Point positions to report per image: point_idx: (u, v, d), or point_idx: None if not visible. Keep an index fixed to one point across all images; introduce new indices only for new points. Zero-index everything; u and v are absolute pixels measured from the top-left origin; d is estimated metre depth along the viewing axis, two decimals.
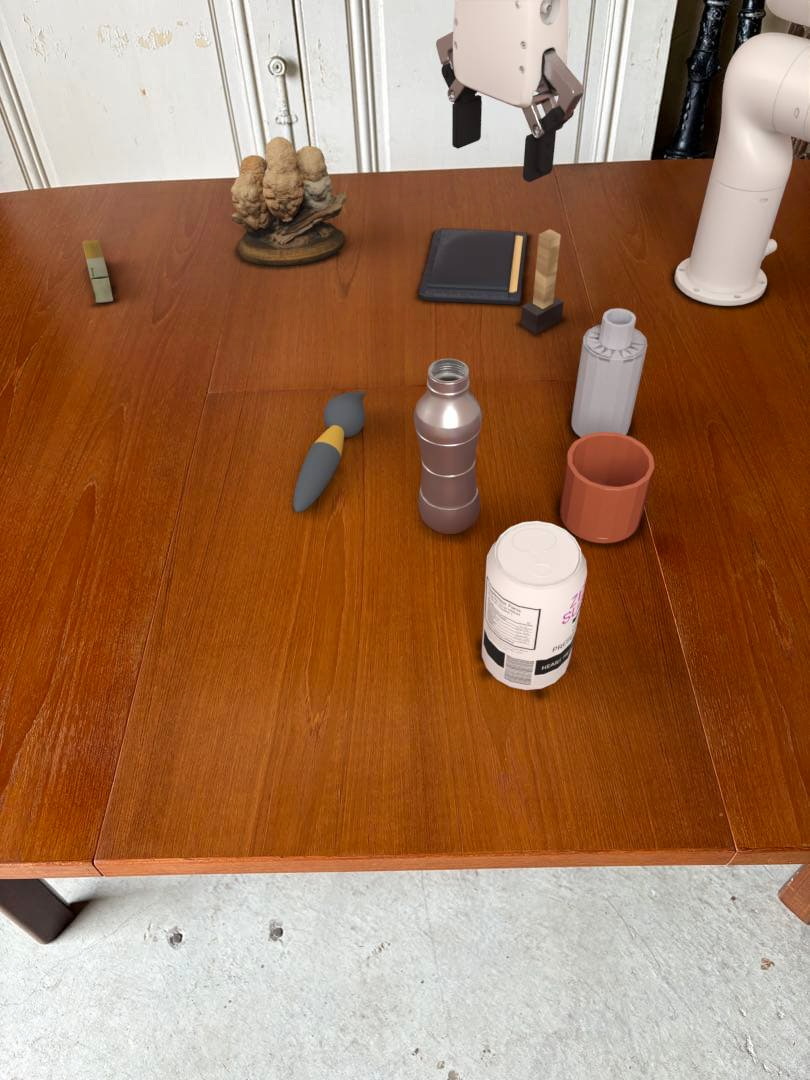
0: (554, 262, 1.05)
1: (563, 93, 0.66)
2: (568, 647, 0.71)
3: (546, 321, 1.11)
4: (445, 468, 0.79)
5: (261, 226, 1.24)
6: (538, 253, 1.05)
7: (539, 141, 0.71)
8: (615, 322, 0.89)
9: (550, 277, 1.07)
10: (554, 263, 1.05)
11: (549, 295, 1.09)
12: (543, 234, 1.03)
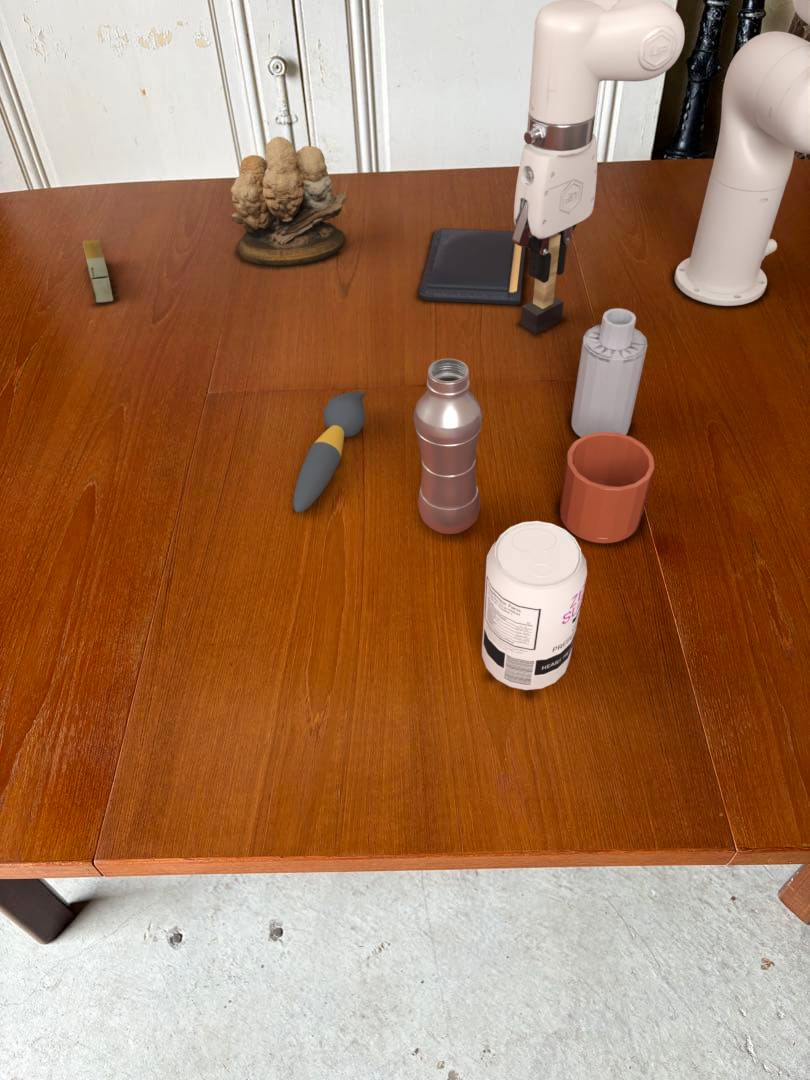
0: (554, 262, 1.05)
1: None
2: (568, 647, 0.71)
3: (546, 321, 1.11)
4: (445, 468, 0.79)
5: (261, 226, 1.24)
6: None
7: None
8: (615, 322, 0.89)
9: (550, 277, 1.07)
10: (554, 263, 1.05)
11: (549, 295, 1.09)
12: None
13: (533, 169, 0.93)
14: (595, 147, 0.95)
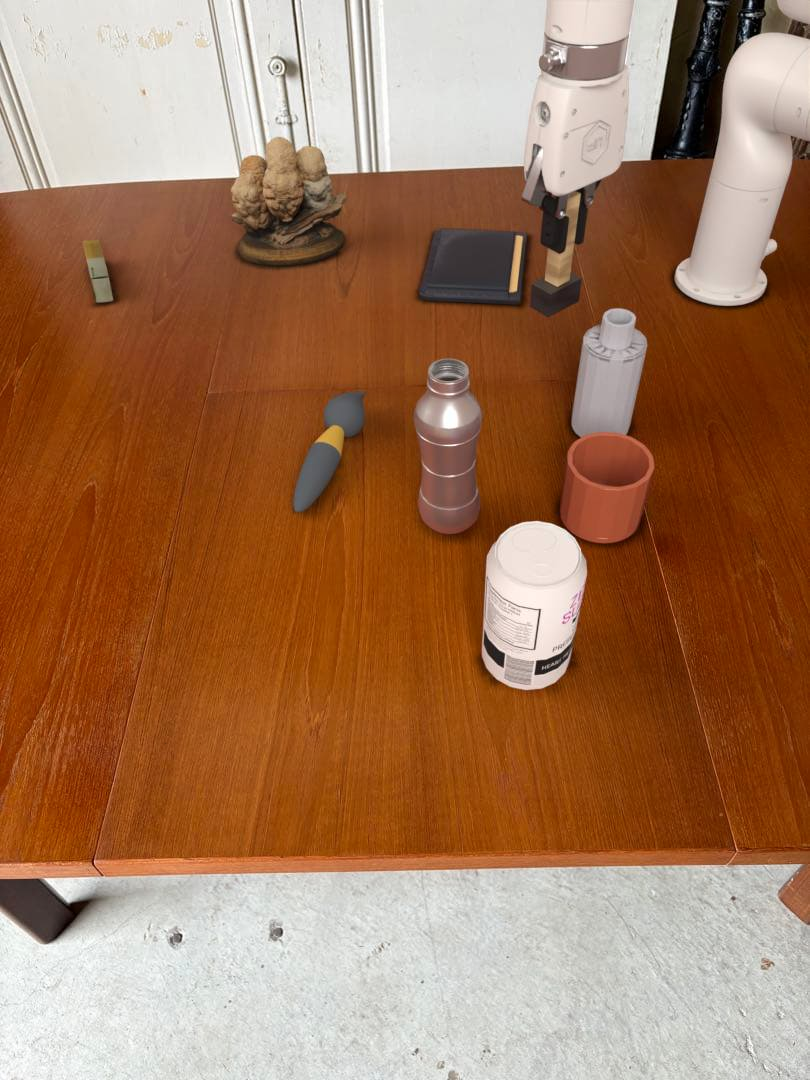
0: (572, 228, 0.86)
1: None
2: (568, 647, 0.71)
3: (561, 302, 0.92)
4: (445, 468, 0.79)
5: (261, 226, 1.24)
6: None
7: None
8: (615, 322, 0.89)
9: (567, 247, 0.87)
10: (572, 229, 0.86)
11: (564, 270, 0.89)
12: None
13: (550, 105, 0.74)
14: (627, 80, 0.76)
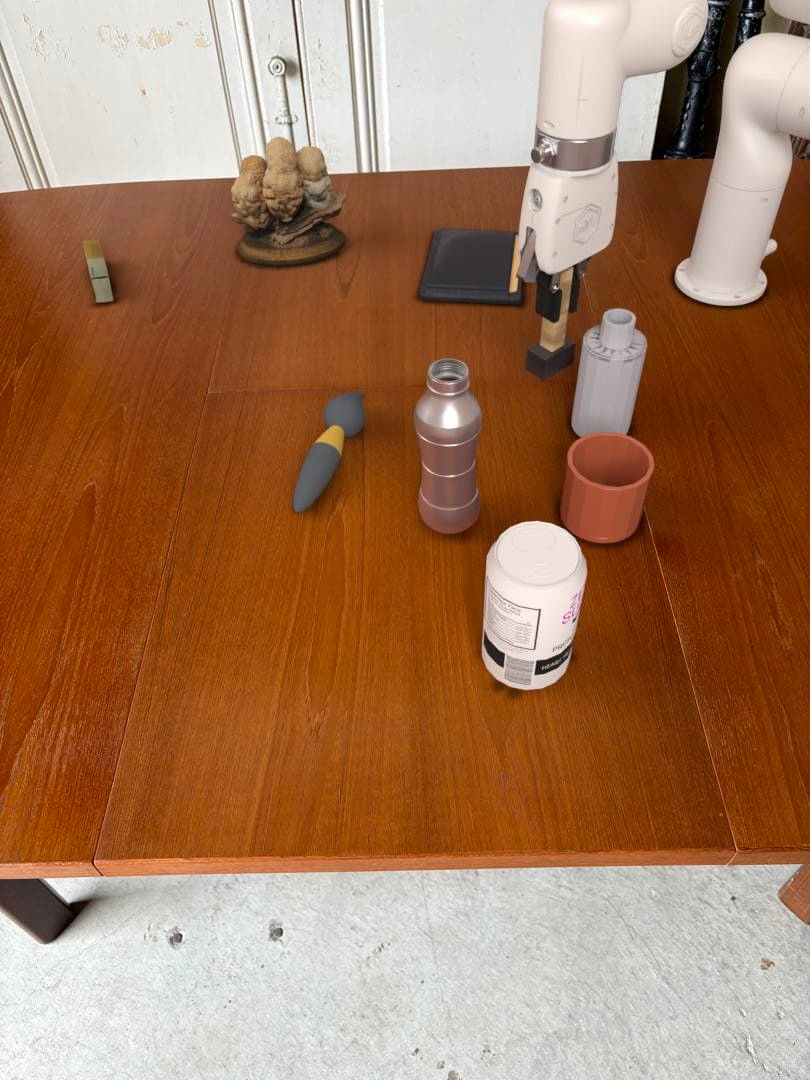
0: (565, 299, 0.89)
1: None
2: (568, 647, 0.71)
3: (556, 366, 0.95)
4: (445, 468, 0.79)
5: (261, 226, 1.24)
6: None
7: None
8: (615, 322, 0.89)
9: (560, 316, 0.90)
10: (565, 300, 0.89)
11: (559, 336, 0.93)
12: None
13: (542, 193, 0.77)
14: (616, 165, 0.79)
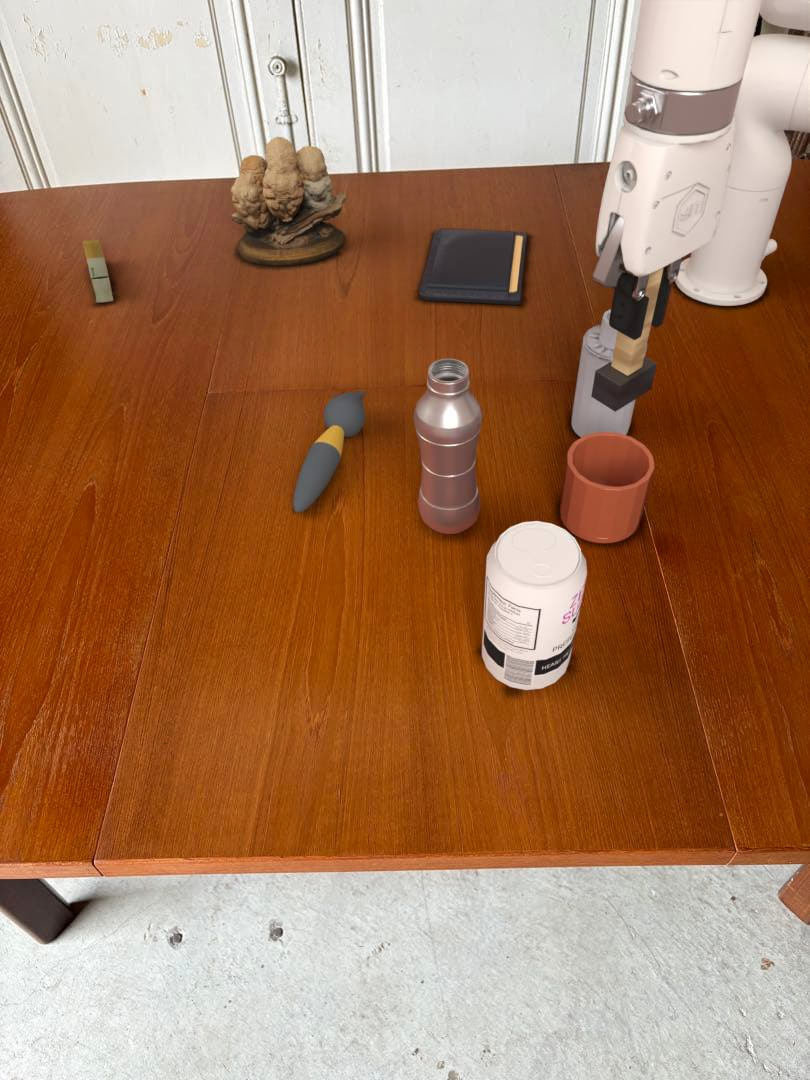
0: (650, 308, 0.69)
1: None
2: (568, 647, 0.71)
3: (631, 393, 0.75)
4: (445, 468, 0.79)
5: (261, 226, 1.24)
6: None
7: None
8: None
9: None
10: (650, 310, 0.69)
11: (637, 356, 0.72)
12: None
13: (637, 166, 0.57)
14: (733, 131, 0.59)
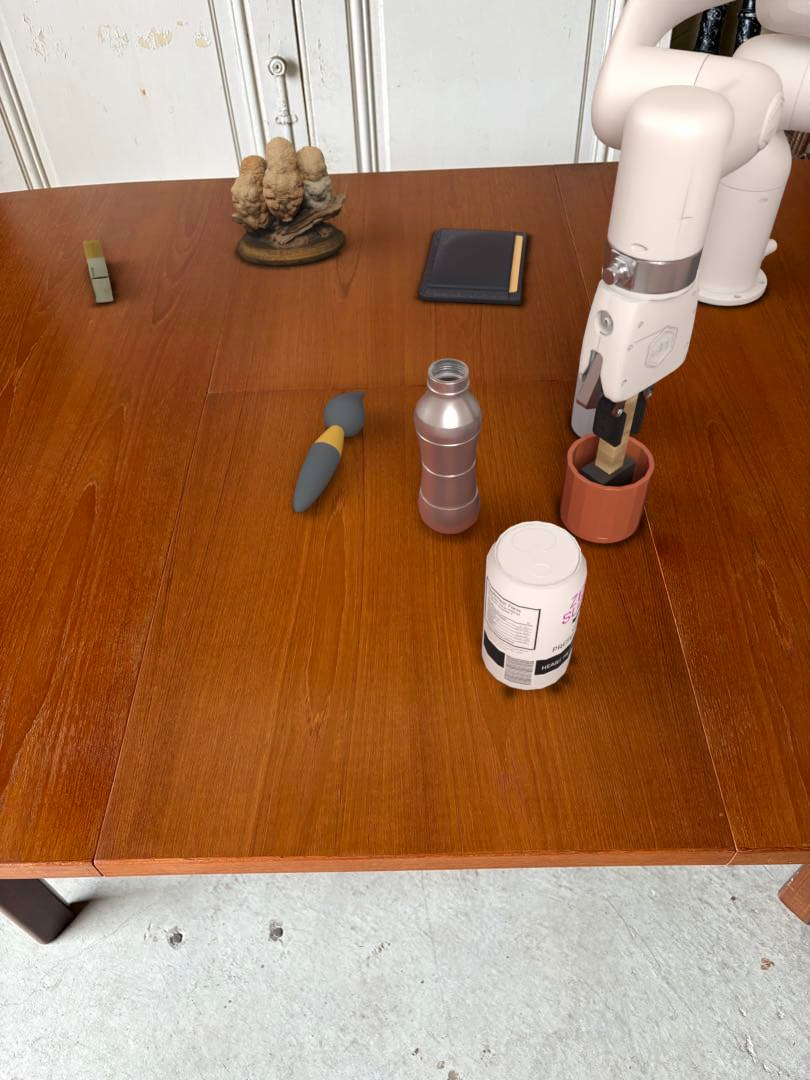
0: (628, 420, 0.78)
1: None
2: (568, 647, 0.71)
3: None
4: (445, 468, 0.79)
5: (261, 226, 1.24)
6: None
7: None
8: None
9: (622, 437, 0.79)
10: (628, 421, 0.78)
11: (618, 458, 0.81)
12: None
13: (613, 316, 0.66)
14: (697, 281, 0.68)
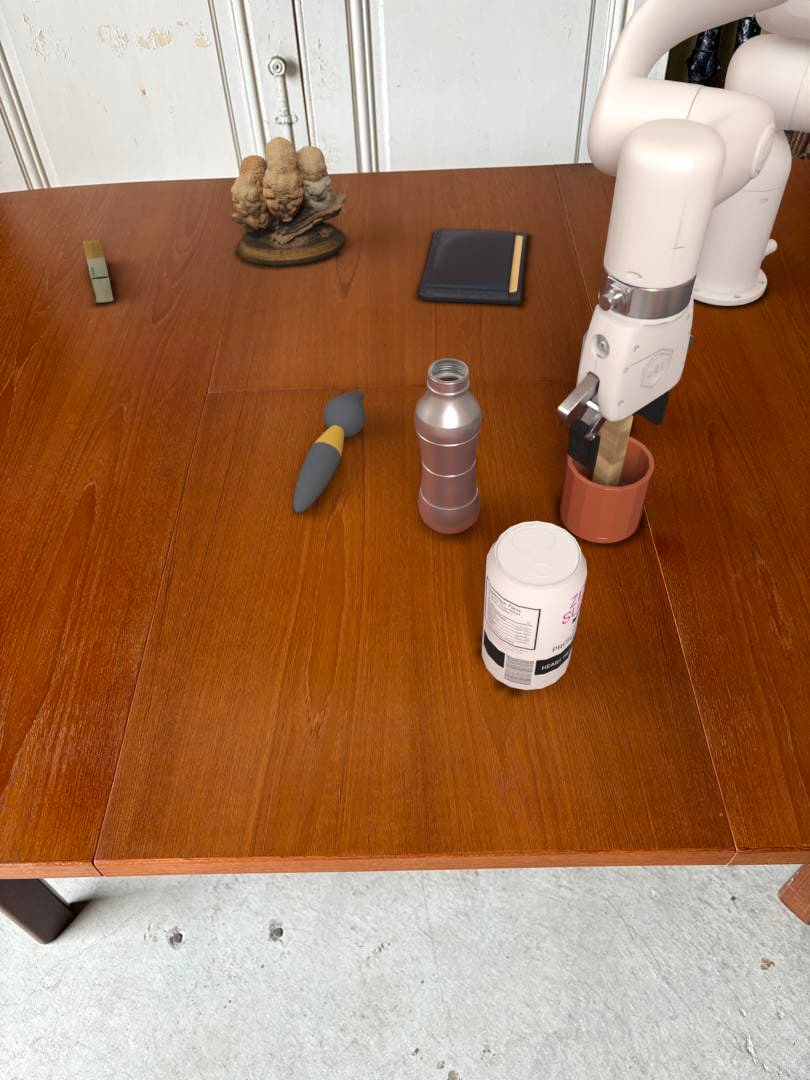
0: (623, 447, 0.80)
1: None
2: (568, 647, 0.71)
3: None
4: (445, 468, 0.79)
5: (261, 226, 1.24)
6: (602, 436, 0.80)
7: (574, 432, 0.76)
8: None
9: (616, 463, 0.82)
10: (622, 448, 0.81)
11: (613, 482, 0.84)
12: None
13: (609, 340, 0.68)
14: (692, 305, 0.70)
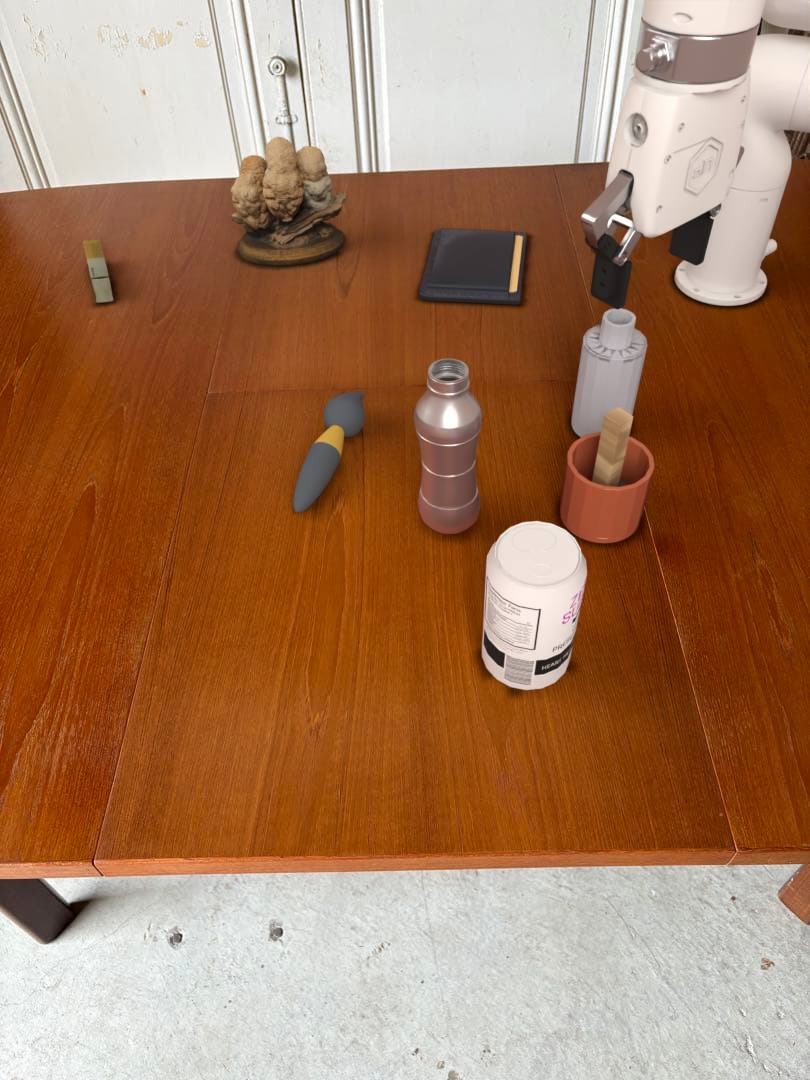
0: (623, 447, 0.80)
1: None
2: (568, 647, 0.71)
3: None
4: (445, 468, 0.79)
5: (261, 226, 1.24)
6: (602, 436, 0.80)
7: None
8: (615, 322, 0.89)
9: (616, 463, 0.82)
10: (622, 448, 0.81)
11: (613, 482, 0.84)
12: (610, 415, 0.78)
13: (648, 118, 0.54)
14: (748, 83, 0.56)
